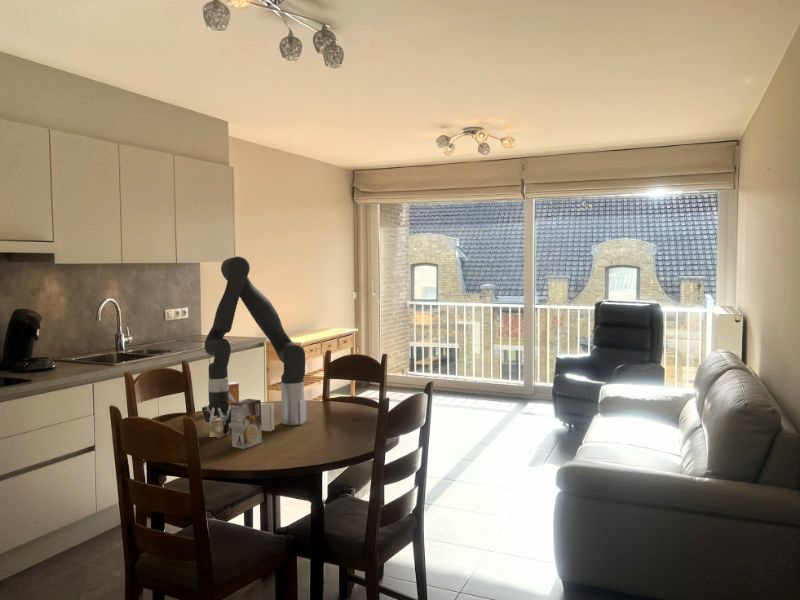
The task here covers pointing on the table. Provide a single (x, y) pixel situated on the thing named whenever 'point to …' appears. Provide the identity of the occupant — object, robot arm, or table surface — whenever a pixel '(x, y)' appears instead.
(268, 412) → the wall with pocket
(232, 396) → the small box
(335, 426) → the table surface
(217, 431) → the block
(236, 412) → the coffee box
